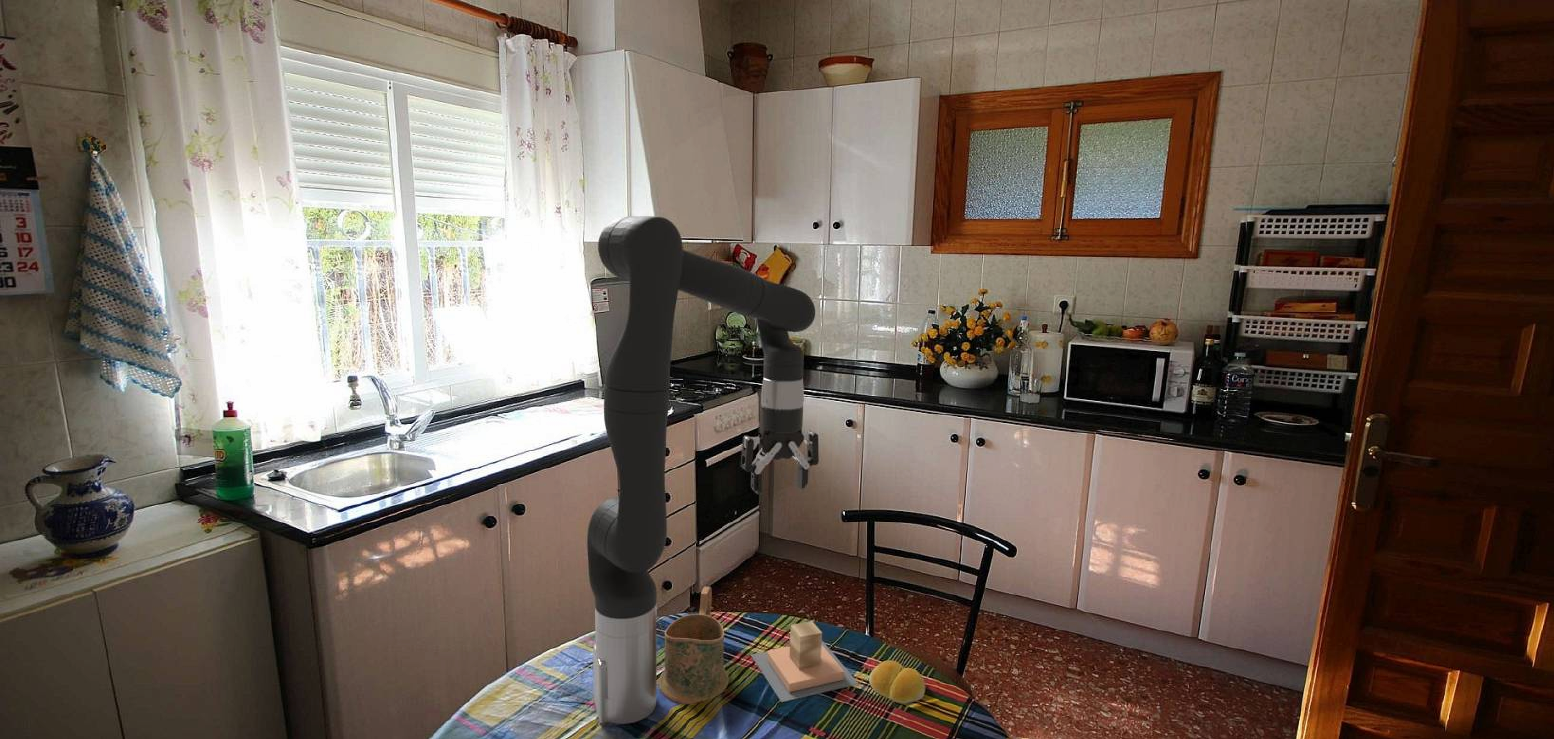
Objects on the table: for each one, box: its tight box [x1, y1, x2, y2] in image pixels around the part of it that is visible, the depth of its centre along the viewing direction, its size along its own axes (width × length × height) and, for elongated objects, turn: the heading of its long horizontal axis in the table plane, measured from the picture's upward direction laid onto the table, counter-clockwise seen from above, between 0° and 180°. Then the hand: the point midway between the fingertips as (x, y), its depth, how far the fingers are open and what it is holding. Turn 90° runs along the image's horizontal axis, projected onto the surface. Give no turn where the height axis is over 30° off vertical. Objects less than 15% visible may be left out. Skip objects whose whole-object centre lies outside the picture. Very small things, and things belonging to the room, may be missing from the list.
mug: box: [658, 586, 730, 705], centre depth 120 cm, size 12×18×12 cm, turn 174°
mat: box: [750, 640, 859, 703], centre depth 122 cm, size 14×14×1 cm
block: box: [789, 620, 823, 670], centre depth 121 cm, size 4×4×6 cm
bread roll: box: [868, 660, 926, 705], centre depth 118 cm, size 8×9×4 cm
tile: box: [766, 645, 844, 692], centre depth 122 cm, size 10×2×10 cm
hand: (779, 489), depth 129 cm, fingers open, 8 cm apart
